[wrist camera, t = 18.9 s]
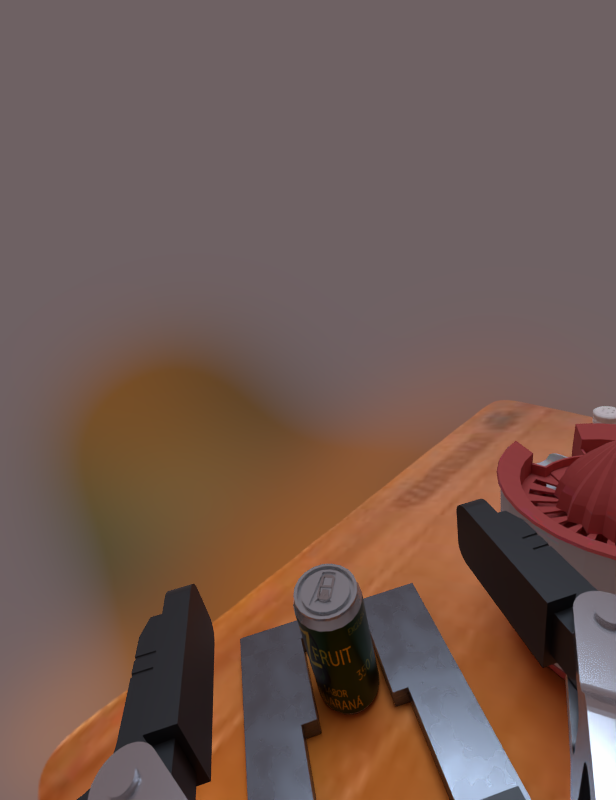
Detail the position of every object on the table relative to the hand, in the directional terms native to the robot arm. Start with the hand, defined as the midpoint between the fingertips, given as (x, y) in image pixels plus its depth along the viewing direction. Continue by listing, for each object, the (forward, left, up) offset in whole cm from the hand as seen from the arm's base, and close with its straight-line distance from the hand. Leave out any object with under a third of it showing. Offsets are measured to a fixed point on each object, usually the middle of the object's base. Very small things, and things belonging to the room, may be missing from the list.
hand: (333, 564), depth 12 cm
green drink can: (-1, -13, -28) cm, 31 cm away
